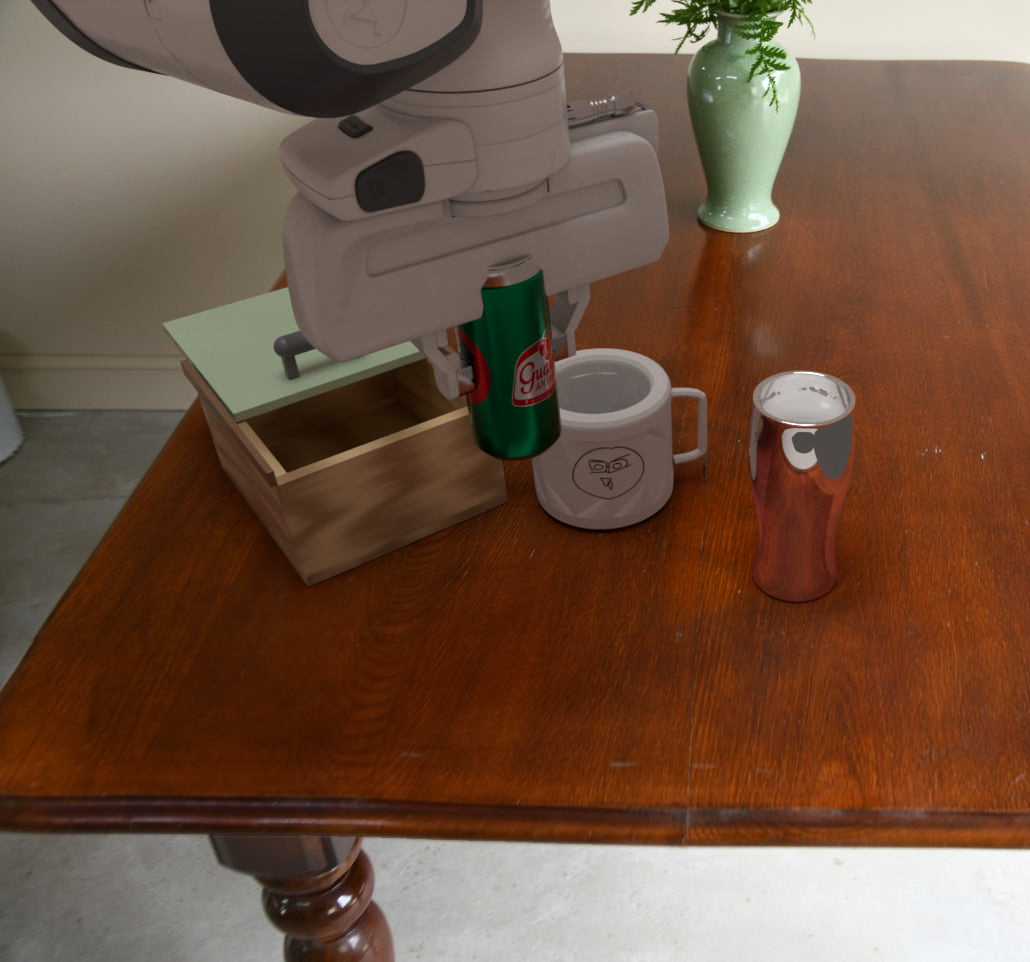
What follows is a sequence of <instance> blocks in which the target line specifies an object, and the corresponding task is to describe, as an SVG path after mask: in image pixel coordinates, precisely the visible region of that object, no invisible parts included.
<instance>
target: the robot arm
mask: <svg viewBox="0 0 1030 962" xmlns="http://www.w3.org/2000/svg"><path fill="white" fill-rule="evenodd" d="M29 1H30V2H31V4H33V5H34V6H35V8H36V9H37V10H38V11H39V12H40V13H41V14H42V16H43V17H44V18H45V19H46V20H47V21H48V22H49V23H50V24H51V25H52V26H53V27H54V28H55V29H56V30H57V31H59V32H60V34H62V35H63V36H64V37H65V38H67V39H68V40H69V41H71V43H73V44H75V45H76V46H77V47H79V48H80V49H82V50H83V51H85V52H87V53H88V54H89V55H92V56H94V57H96V58H97V59H100V60H102V61H104V62H106V63H109V64H112V65H115V66H118V67H122V68H126V69H130V70H135V71H140V72H145V73H150V74H155V75H161V76H166V77H171V78H174V79H177V80H180V81H183V82H186V83H189V84H191V85H195V86H198V87H201V88H204V89H207V90H210V91H213V92H216V93H219V94H222V95H225V96H228V97H231V98H235V99H238V100H241V101H244V102H247V103H249V104H254V105H256V106H259V107H262V108H265V109H269V110H272V111H274V112H279V113H282V114H287V115H290V116H297V117H305V118H313V120H311V121H310V122H308V123H306V124H304V125H302V126H301V127H299V128H297V129H295V130H294V131H293V132H291V133H289V134H288V135H287V136H285V137H284V138H283V139H282V140H281V142H280V144H279V148H278V154H279V155H278V156H279V159H280V164H281V167H282V169H283V171H284V173H285V175H286V176H287V178H288V179H289V181H290V183H292V185H293V187H295V188H296V190H298V191H297V192H296V193H295V194H293V196H292V197H291V199H290V200H289V202H288V204H287V206H286V208H285V211H284V214H283V218H282V227H281V228H282V229H281V234H282V235H281V236H282V249H283V260H284V267H285V276H286V277H285V278H286V282H287V283H286V284H287V287H288V289H289V295H290V300H291V305H292V310H293V313H294V317H295V321H296V323H297V326H298V328H299V330H300V331H301V333H302V334H303V335H304V337H305V338H306V339H307V340H308V342H309V343H310V344H311V345H312V346H313V347H314V348H315V349H317V350H318V351H320V352H321V353H322V354H324V355H326V356H327V357H329V358H331V359H333V360H334V361H337V362H346V361H350V360H353V359H356V358H358V357H361V356H364V355H368V354H371V353H374V352H377V351H380V350H383V349H386V348H389V347H393V346H396V345H399V344H402V343H405V342H408V341H411V343H412V344H413V345H414V346H415V347H416V348H417V349H418V350H419V351H420V352H421V353H422V354H423V355H424V356H425V357H426V358H427V359H428V360H429V361H430V362H431V363H433V369H434V375H435V380H436V384H437V387H438V389H439V391H440V392H441V393H442V394H443V395H444V396H445V397H446V398H447V399H448V400H452V399H455V398H457V397H461V396H463V395H466V394H468V393H471V392H474V391H475V384H474V383H473V382H472V379H473V377H474V376H473V370H472V366H471V365H470V364H469V363H467V362H466V361H464V360H462V357H461V356H460V355H459V352H457V353H454V354H450V355H447V356H444V355H443V354H442V352H441V351H440V350H439V349H438V347H440V348H441V347H444V346H447V345H449V339H448V333H447V330H448V329H451V328H455V326H458V325H461V324H464V323H467V322H470V321H473V320H476V319H479V318H481V317H482V312H483V302H482V296H481V291H480V290H481V288H482V287H483V285H484V283H485V281H486V279H487V278H488V276H489V275H490V273H491V272H490V271H488V270H487V269H488V267H489V266H494V265H502V264H507V263H511V262H514V261H516V260H519V259H521V258H523V257H524V256H526V255H528V254H531V255H532V258H531V259H530V261H531V262H532V263H534V264H535V265H536V266H538V267H539V268H541V269H542V270H543V275H544V285H545V291H546V296H547V297H548V298H549V297H551V296H553V295H556V296H555V299H554V302H553V305H552V307H551V310H550V320H551V329H552V339H553V348H554V358H555V362H558V361H560V360H563V359H566V358H569V357H572V356H575V355H576V351H577V347H576V335H575V331H576V330H577V329H578V327H579V325H580V322H581V320H582V318H583V316H584V314H585V312H586V310H587V308H588V305H589V303H590V301H591V285H590V284H591V283H594V282H597V281H601V280H603V279H607V278H610V277H612V276H616V275H619V274H623V273H625V272H628V271H632V270H635V269H638V268H641V267H644V266H647V265H650V264H653V263H656V262H658V261H659V260H660V259H661V257H662V255H663V253H664V252H665V250H666V248H667V246H668V244H669V241H670V225H669V224H670V223H669V214H668V206H667V199H666V192H665V186H664V182H663V175H662V172H661V171H662V170H661V168H660V162H659V160H658V154H659V149H660V141H659V140H660V139H659V119H658V116H657V114H656V111H654V108H653V107H652V106H651V105H650V104H649V102H647V101H646V100H644V99H643V98H640V97H636V96H634V94H633V93H631V92H630V91H617V92H613V93H609V94H607V95H605V96H604V97H603V96H602V97H600V98H593V99H583V100H576V101H572V102H568V101H567V91H566V90H567V89H566V78H565V65H564V63H565V62H564V52H563V47H562V44H561V41H560V37H559V35H558V32H557V29H556V27H555V24H554V21H553V20H554V19H553V15H552V10H551V9H552V8H551V0H29ZM567 102H568V103H567ZM636 107H637V108H636Z"/></svg>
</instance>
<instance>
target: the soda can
mask: <svg viewBox="0 0 1030 962" xmlns="http://www.w3.org/2000/svg"><path fill="white" fill-rule="evenodd" d="M531 258H532V255H531V254H528V255H526V256H524V257H523V258H521V259H519V260H516V261H514V262H511V263H507V264H502V265H494V266H489V267H488V269H487V270H488V271H490V272H491V273H490V275H489V276H488V278H487V279H486V281H485V283H484V285H483V287H482V288H481V290H480V291H481V296H482V302H483V312H482V317H481V318H479V319H476V320H473V321H470V322H467V323H464V324H461V325H458V326H455V327H454V331H455V339H456V344H457V351H458V354H459V355H460V356H461V357H462V360H464V361H466V362H467V363H469V364H470V365H471V366H472V370H473V376H474V377H473V379H472V382H473V383H474V384H475V391H474V392H471V393H468V394H466V400H467V406H468V412H469V418H470V424H471V430H472V437H473V441H474V443H475V444H476V446H477V447H478V448H479V449H480V450H482V451H483V452H484V453H486V454H488V455H489V456H491V457H493V458H496V459H500V460H502V461H505V462H520V461H521V462H522V461H528V460H532V458H534V457H537V456H539V455H541V454H543V453H545V452H546V451H548V450H549V449H550V448H551V447H552V446H553V445H554V444H555V442H556V441H557V440H558V438H559V437H560V435H561V432H562V424H561V415H560V405H559V396H558V386H557V377H556V367H555V358H554V348H553V339H552V329H551V320H550V313H551V310H550V301H549V296H548V297H547V296H546V291H545V285H544V275H543V270H542V269H541V268H539V267H538V266H536V265H535V264H534V263H532V262H531V261H530V259H531Z"/></svg>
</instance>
